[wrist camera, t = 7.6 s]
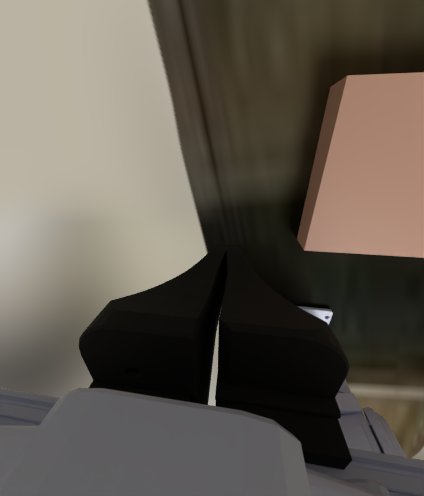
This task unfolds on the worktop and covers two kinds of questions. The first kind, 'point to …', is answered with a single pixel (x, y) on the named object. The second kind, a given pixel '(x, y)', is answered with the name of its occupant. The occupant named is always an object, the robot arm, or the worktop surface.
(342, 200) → the book
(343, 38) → the worktop surface
